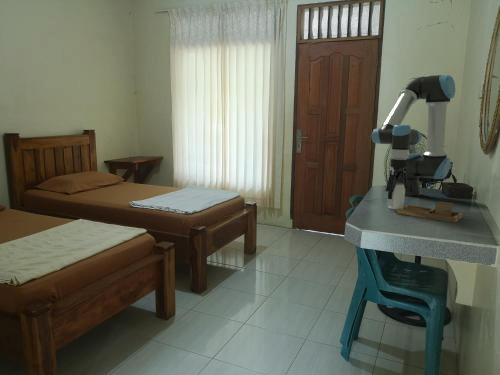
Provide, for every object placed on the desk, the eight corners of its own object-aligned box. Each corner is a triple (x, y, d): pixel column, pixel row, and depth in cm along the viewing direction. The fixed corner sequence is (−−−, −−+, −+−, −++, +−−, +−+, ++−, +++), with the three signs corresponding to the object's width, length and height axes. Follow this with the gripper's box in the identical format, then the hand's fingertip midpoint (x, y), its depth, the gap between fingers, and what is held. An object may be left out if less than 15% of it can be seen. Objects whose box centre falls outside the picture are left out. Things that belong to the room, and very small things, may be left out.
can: (403, 210, 178) (406, 184, 176) (389, 209, 180) (391, 184, 178) (401, 207, 185) (403, 182, 183) (387, 206, 186) (389, 182, 184)
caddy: (407, 210, 178) (407, 204, 178) (462, 219, 163) (462, 213, 163) (397, 214, 170) (397, 208, 169) (454, 224, 155) (455, 217, 154)
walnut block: (436, 215, 167) (437, 201, 166) (451, 217, 164) (453, 203, 163) (434, 218, 162) (435, 203, 161) (450, 220, 159) (451, 205, 158)
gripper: (401, 156, 190) (397, 199, 193) (380, 159, 171) (376, 206, 175) (417, 157, 185) (413, 201, 188) (397, 160, 167) (393, 209, 170)
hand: (395, 203), depth 182 cm, fingers open, 13 cm apart
